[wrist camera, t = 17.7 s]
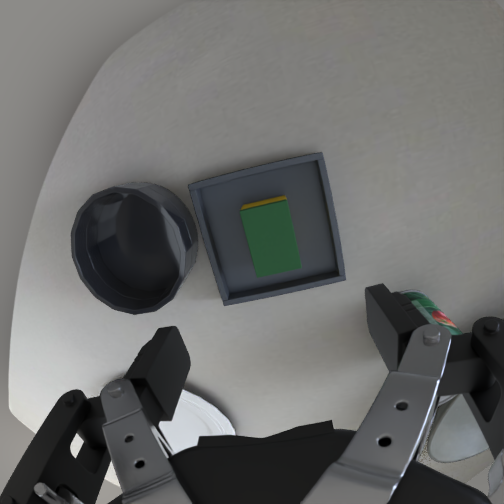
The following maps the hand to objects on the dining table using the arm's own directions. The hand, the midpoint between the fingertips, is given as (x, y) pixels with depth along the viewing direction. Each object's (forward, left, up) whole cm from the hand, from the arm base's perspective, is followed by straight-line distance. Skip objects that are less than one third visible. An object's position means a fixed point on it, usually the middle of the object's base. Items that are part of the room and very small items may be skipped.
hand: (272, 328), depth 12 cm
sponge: (0, 0, -17) cm, 17 cm away
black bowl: (-2, -13, -18) cm, 22 cm away
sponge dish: (0, 0, -18) cm, 18 cm away
